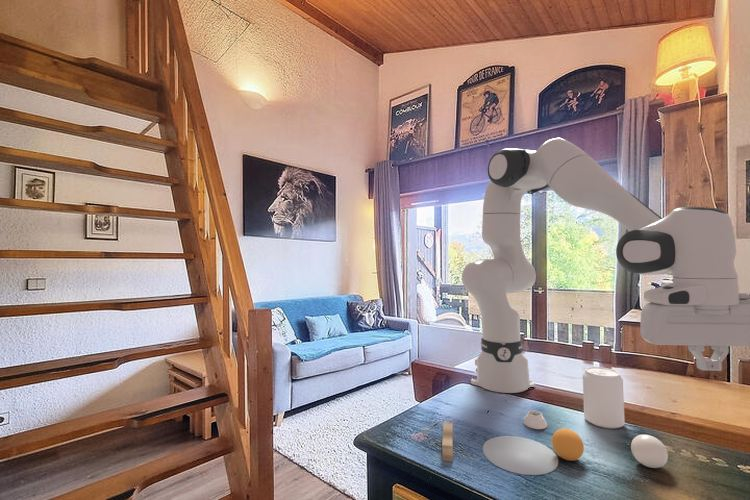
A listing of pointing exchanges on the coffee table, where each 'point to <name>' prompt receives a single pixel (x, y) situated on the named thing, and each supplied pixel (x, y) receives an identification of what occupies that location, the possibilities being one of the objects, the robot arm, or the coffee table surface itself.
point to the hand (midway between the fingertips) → (709, 369)
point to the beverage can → (603, 397)
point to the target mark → (520, 455)
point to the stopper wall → (447, 442)
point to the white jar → (535, 420)
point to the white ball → (649, 451)
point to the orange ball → (567, 444)
